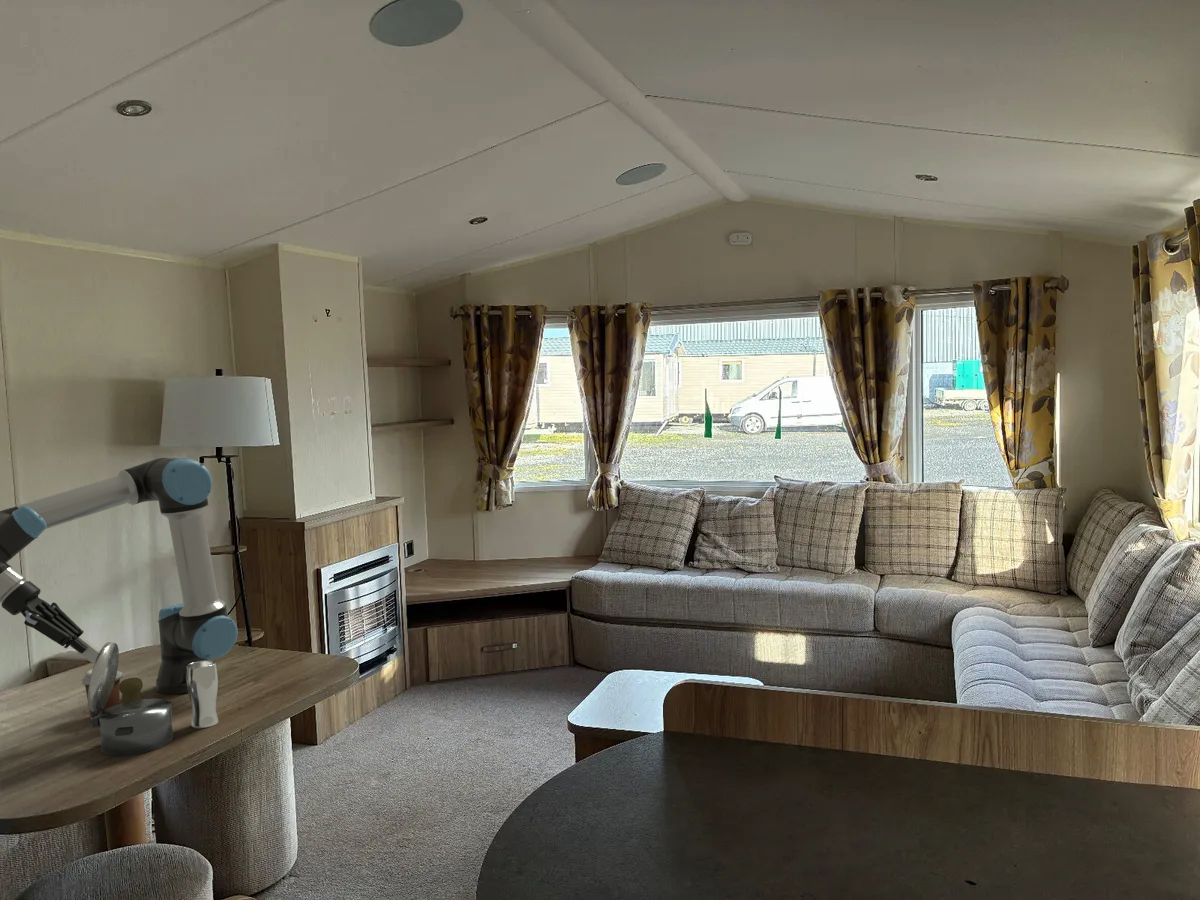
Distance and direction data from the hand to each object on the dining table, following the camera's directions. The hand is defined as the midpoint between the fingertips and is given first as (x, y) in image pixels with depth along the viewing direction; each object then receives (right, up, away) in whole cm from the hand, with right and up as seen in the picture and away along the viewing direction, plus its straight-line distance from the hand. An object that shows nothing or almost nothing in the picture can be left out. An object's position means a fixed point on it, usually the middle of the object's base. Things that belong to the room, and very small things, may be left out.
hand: (98, 658), depth 208 cm
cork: (-1, -20, +17) cm, 26 cm away
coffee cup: (-11, -20, +22) cm, 31 cm away
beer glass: (+18, -20, +14) cm, 30 cm away
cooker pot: (+8, -20, +3) cm, 22 cm away
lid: (+1, -5, +1) cm, 5 cm away
